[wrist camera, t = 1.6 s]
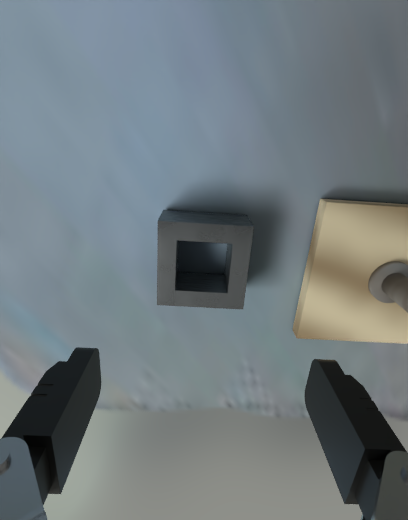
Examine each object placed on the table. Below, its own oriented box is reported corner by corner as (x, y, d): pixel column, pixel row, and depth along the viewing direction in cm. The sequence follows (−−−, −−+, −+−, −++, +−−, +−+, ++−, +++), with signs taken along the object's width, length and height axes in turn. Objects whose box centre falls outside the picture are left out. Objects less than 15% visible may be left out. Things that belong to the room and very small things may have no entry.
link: (163, 209, 22) (157, 220, 19) (247, 215, 22) (253, 226, 19) (162, 285, 24) (157, 304, 21) (238, 289, 24) (242, 309, 21)
